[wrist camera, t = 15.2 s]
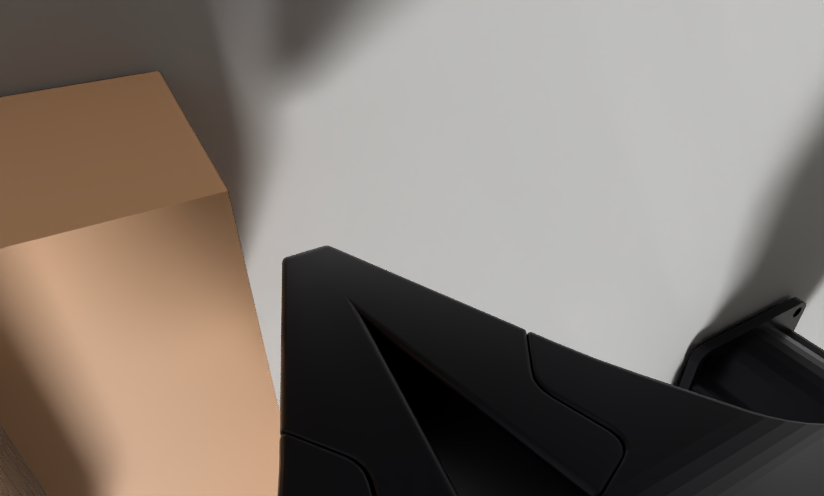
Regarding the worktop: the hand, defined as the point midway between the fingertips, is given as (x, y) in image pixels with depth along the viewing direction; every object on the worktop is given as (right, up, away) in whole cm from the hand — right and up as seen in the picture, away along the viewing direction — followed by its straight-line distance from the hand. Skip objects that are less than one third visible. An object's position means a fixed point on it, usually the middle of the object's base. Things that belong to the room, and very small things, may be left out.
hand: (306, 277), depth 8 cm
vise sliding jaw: (-3, +1, +1) cm, 3 cm away
